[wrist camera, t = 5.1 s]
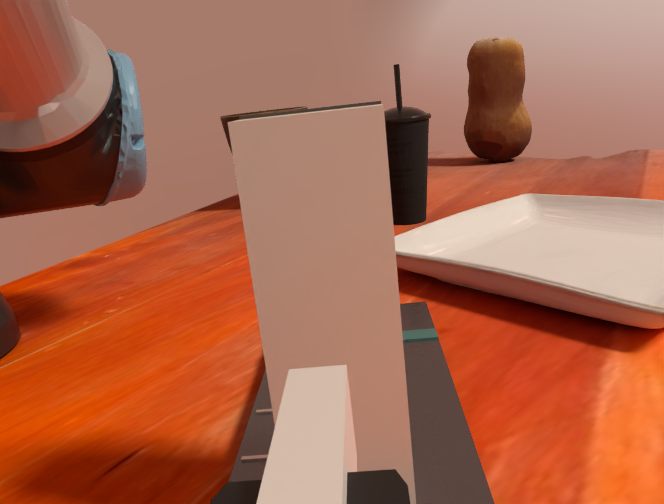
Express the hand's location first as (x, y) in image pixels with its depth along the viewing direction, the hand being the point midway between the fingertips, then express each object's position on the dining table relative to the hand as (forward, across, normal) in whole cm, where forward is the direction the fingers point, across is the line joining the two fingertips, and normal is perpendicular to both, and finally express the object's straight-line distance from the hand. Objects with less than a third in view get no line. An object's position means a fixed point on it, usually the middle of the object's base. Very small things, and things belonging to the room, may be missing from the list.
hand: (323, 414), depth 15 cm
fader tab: (+7, 0, -7) cm, 10 cm away
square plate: (+37, +20, -10) cm, 43 cm away
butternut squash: (+109, +31, -9) cm, 114 cm away
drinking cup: (+61, +7, -9) cm, 62 cm away
